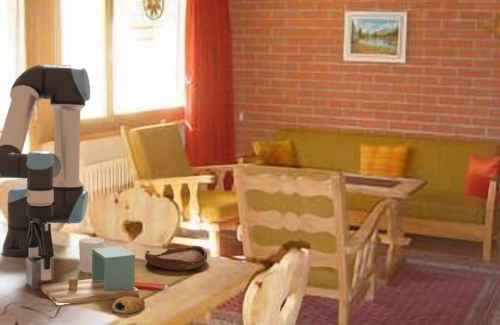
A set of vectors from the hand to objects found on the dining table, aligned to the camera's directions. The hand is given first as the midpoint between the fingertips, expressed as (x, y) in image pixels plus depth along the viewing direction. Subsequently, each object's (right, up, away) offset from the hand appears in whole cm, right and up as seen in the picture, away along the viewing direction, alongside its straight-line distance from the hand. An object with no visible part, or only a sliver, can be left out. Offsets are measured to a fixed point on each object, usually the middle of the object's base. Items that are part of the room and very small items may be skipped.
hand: (39, 274), depth 228 cm
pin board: (+16, -5, -5) cm, 17 cm away
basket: (+38, -1, +30) cm, 49 cm away
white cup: (+12, -2, +18) cm, 22 cm away
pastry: (+29, -7, -18) cm, 35 cm away
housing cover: (+22, -3, -1) cm, 22 cm away
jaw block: (0, -3, +1) cm, 3 cm away
